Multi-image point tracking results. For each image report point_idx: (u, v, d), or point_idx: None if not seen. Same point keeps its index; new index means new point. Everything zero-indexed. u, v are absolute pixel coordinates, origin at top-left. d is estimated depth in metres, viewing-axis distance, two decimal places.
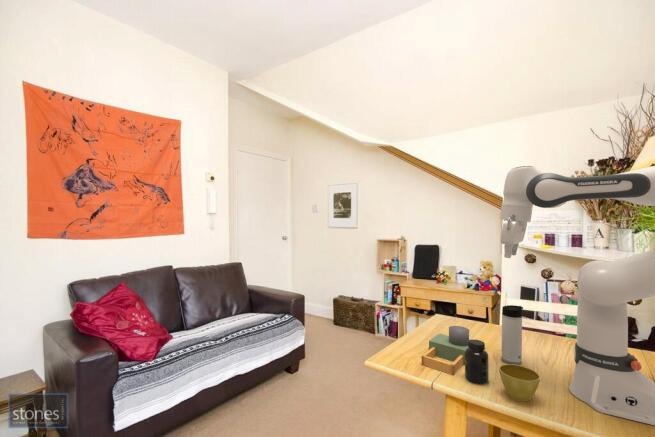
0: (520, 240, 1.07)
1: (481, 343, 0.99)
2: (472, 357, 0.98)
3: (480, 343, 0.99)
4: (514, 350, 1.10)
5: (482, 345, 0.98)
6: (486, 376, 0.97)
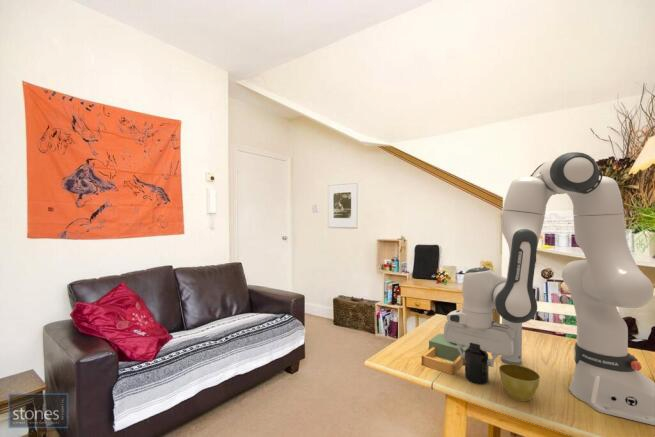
0: None
1: None
2: (472, 357, 0.98)
3: None
4: (514, 350, 1.10)
5: None
6: (486, 376, 0.97)
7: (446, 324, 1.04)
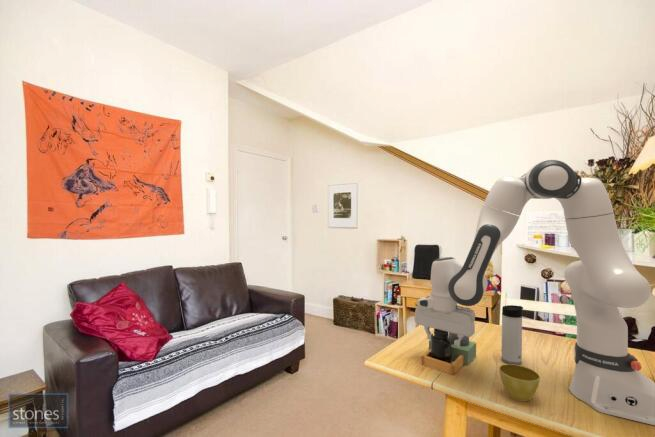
0: None
1: None
2: (436, 343, 1.08)
3: None
4: (514, 350, 1.10)
5: (446, 332, 1.09)
6: (449, 360, 1.08)
7: (416, 309, 1.14)
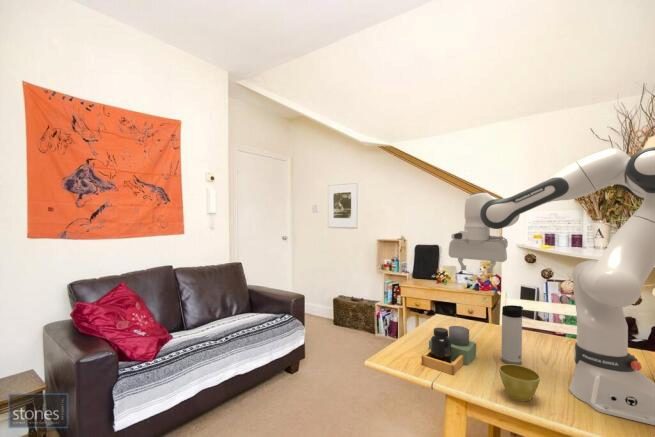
0: None
1: (445, 330, 1.10)
2: (436, 343, 1.09)
3: (444, 330, 1.10)
4: (514, 350, 1.10)
5: (445, 332, 1.09)
6: (448, 360, 1.08)
7: (451, 242, 1.24)
